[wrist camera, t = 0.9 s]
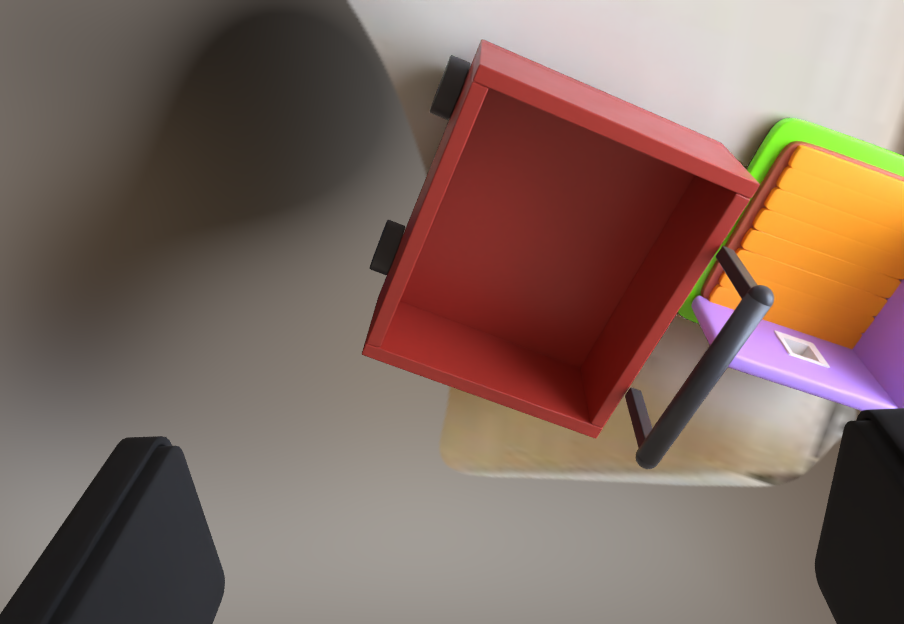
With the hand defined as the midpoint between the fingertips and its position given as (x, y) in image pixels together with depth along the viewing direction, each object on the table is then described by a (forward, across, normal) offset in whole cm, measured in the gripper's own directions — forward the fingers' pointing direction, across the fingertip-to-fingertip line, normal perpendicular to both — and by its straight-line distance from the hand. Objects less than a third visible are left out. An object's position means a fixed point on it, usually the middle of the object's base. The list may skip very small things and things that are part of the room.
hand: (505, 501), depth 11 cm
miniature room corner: (+29, -17, +10) cm, 35 cm away
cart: (+29, -2, +7) cm, 30 cm away
